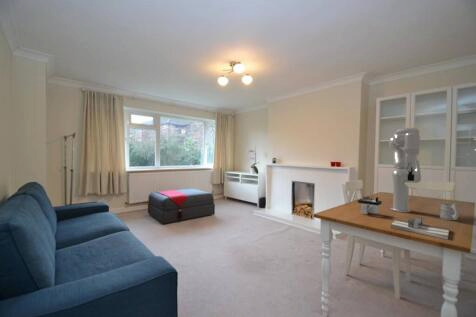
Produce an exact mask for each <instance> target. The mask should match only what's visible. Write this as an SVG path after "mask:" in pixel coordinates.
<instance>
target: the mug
mask: <svg viewBox="0 0 476 317" xmlns="http://www.w3.org/2000/svg"><path fill="white" fill-rule="evenodd" d="M439 209H440V212H439V215H438V216H439V218H440V219H441V220H445V221H457V220H458V219H459V210H458V207H457V203H453V204H452V203H451V204H450V203H444V202H443V203H442V202H441V205H440V208H439Z"/></svg>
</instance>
